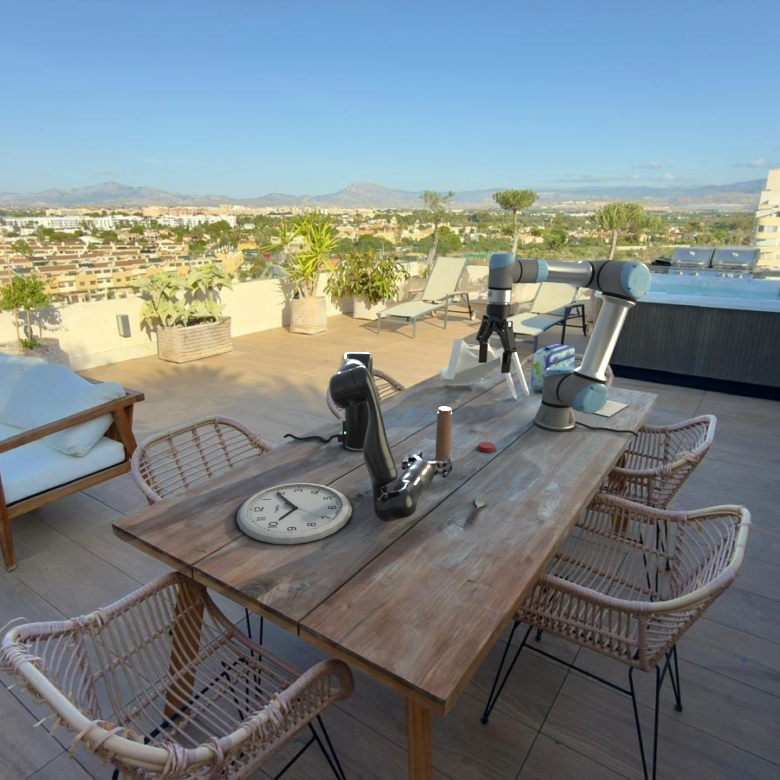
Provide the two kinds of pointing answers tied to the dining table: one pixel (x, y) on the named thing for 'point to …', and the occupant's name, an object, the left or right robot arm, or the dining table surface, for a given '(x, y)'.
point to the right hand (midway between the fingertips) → (493, 367)
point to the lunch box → (550, 362)
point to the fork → (478, 503)
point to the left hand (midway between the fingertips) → (434, 456)
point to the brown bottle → (443, 433)
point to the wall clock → (294, 513)
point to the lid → (486, 446)
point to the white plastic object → (477, 366)
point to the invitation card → (610, 408)
